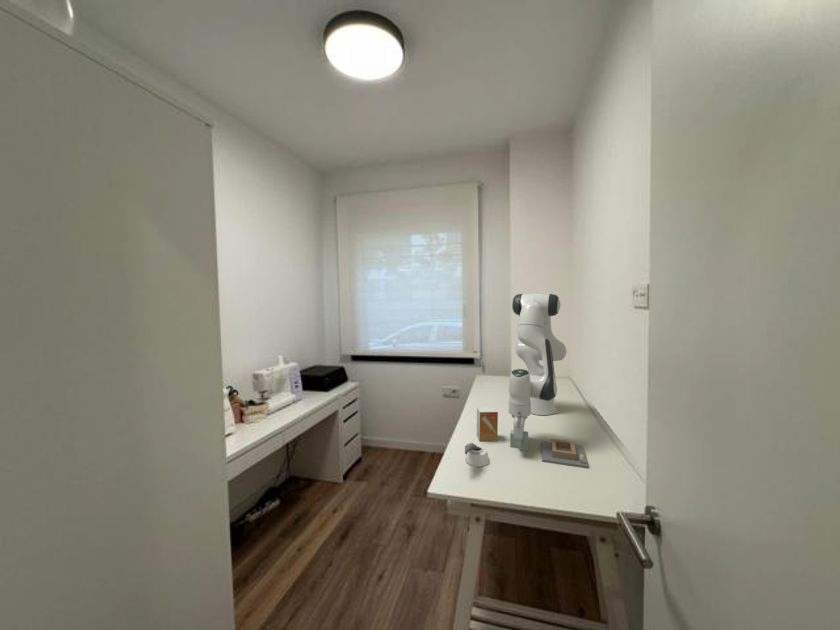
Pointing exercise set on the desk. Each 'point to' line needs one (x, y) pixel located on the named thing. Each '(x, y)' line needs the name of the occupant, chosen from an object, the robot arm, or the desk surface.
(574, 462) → the keyed plate
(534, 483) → the desk surface
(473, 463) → the inkwell
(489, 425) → the small box
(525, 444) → the sage block
